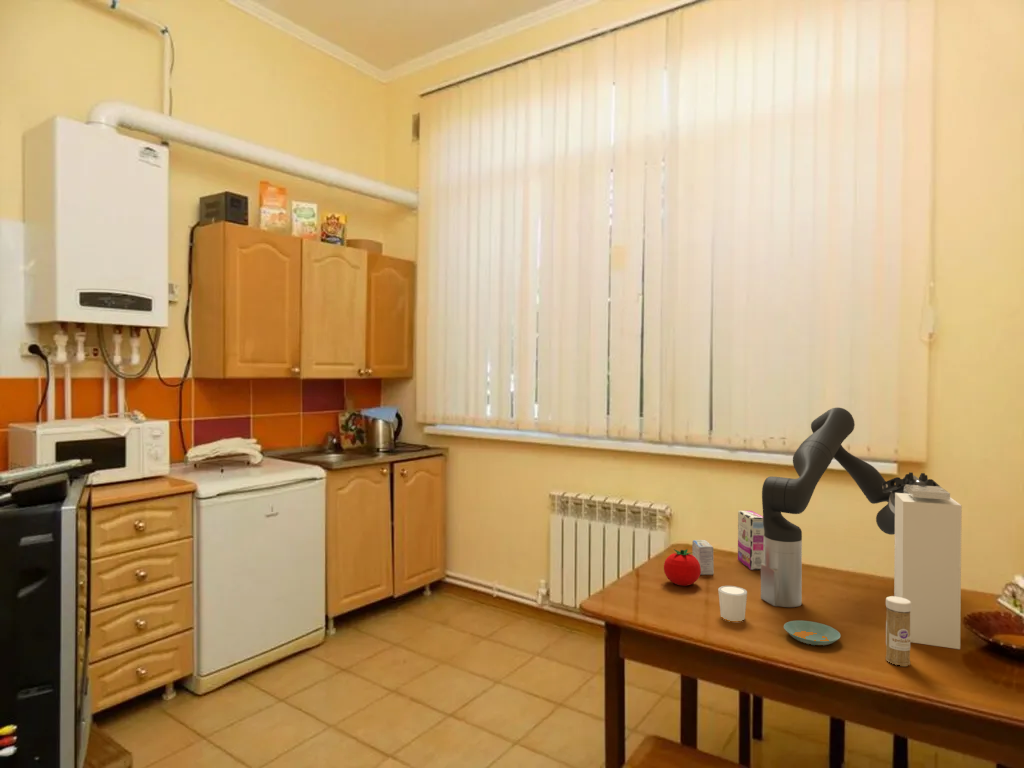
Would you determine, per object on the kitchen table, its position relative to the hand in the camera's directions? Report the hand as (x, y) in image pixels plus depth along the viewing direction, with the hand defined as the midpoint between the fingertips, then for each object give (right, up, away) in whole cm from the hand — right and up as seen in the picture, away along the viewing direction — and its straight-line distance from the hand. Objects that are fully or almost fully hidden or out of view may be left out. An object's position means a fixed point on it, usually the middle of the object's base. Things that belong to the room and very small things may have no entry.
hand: (917, 476), depth 153 cm
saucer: (-31, -36, -10) cm, 49 cm away
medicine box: (-41, -35, +39) cm, 67 cm away
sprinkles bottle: (-19, -36, -22) cm, 46 cm away
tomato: (-51, -36, +26) cm, 68 cm away
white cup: (-45, -36, +2) cm, 58 cm away
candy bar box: (-24, -35, +44) cm, 61 cm away
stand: (-4, -36, -9) cm, 37 cm away
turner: (-2, -3, -4) cm, 6 cm away
